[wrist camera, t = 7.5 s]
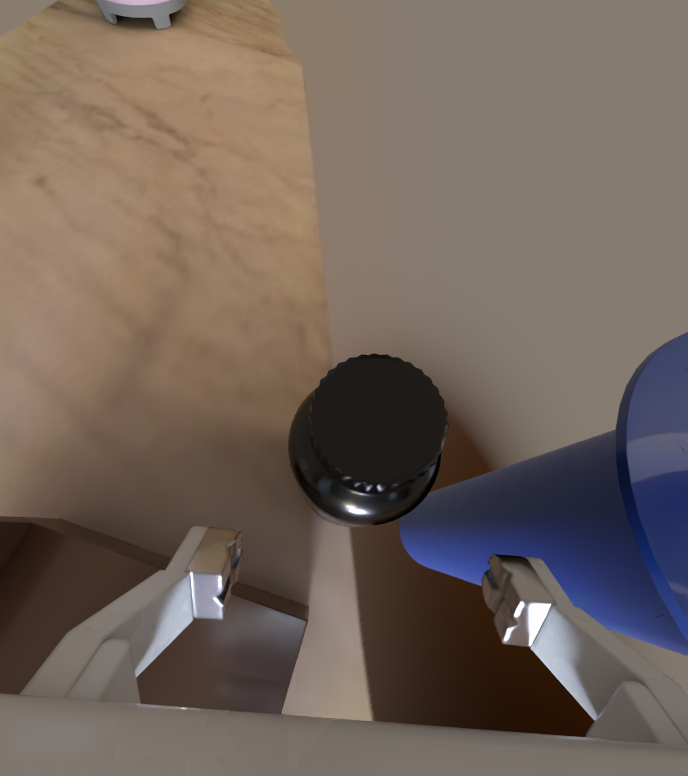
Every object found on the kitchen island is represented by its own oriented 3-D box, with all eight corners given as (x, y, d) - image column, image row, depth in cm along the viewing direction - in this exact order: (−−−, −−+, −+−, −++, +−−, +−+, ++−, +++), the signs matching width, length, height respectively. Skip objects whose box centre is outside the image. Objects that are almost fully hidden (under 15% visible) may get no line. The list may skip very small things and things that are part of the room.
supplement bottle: (419, 477, 22) (519, 423, 11) (345, 552, 20) (379, 579, 9) (352, 406, 24) (380, 299, 13) (278, 467, 21) (235, 403, 10)
